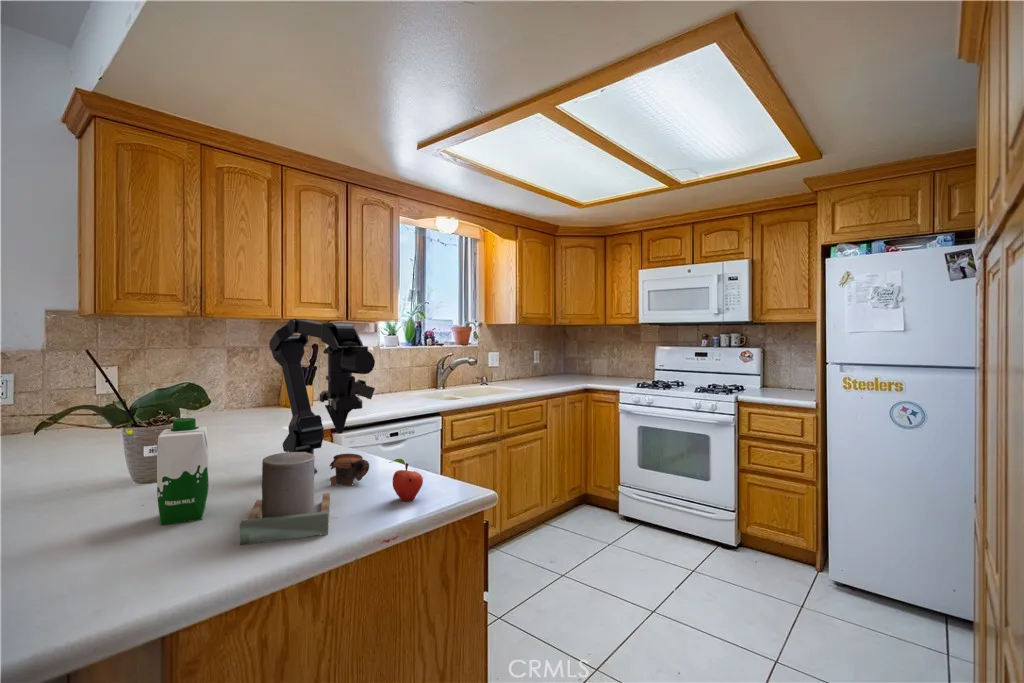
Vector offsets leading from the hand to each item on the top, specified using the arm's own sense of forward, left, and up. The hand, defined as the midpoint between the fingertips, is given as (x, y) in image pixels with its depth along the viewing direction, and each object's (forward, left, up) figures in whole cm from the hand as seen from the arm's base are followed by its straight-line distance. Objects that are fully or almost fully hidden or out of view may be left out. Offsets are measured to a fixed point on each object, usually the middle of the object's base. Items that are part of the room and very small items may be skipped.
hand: (340, 433), depth 124 cm
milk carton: (+5, -33, -13) cm, 36 cm away
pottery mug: (-1, +3, -13) cm, 14 cm away
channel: (+19, -15, -13) cm, 28 cm away
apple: (+20, +10, -13) cm, 26 cm away
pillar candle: (+21, -15, -13) cm, 29 cm away
